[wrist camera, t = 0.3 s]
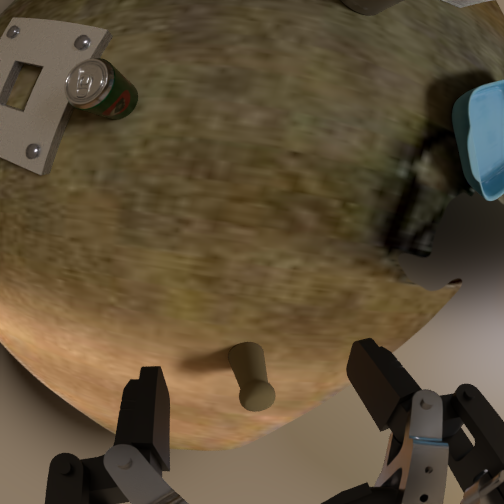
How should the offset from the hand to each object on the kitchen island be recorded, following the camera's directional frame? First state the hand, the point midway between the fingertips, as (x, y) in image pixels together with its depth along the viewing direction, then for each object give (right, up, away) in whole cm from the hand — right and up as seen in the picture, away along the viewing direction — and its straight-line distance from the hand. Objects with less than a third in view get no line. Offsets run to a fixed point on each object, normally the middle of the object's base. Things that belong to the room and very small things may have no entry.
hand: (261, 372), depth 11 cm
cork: (-1, -12, +34) cm, 37 cm away
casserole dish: (+50, +31, +29) cm, 65 cm away
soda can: (-17, +24, +17) cm, 34 cm away
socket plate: (-31, +28, +13) cm, 44 cm away
